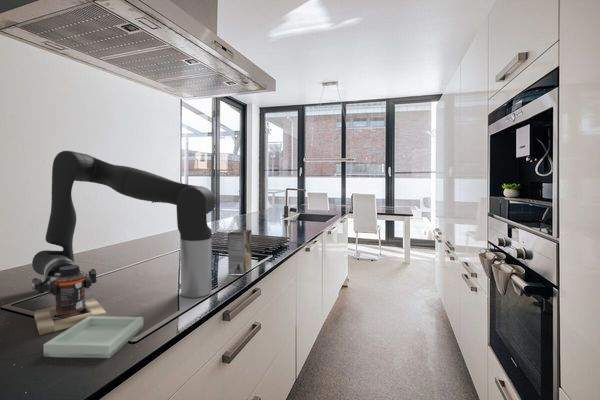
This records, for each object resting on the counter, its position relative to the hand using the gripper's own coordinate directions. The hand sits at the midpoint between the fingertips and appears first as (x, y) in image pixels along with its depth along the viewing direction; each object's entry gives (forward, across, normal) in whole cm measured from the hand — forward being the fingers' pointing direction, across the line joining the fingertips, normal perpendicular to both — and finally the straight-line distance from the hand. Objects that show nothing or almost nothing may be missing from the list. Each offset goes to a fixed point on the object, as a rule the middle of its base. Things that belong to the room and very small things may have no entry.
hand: (71, 287), depth 76 cm
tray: (+15, +2, +8) cm, 18 cm away
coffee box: (-8, +54, +9) cm, 55 cm away
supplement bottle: (-2, 0, +7) cm, 7 cm away
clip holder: (-3, 0, +8) cm, 9 cm away
